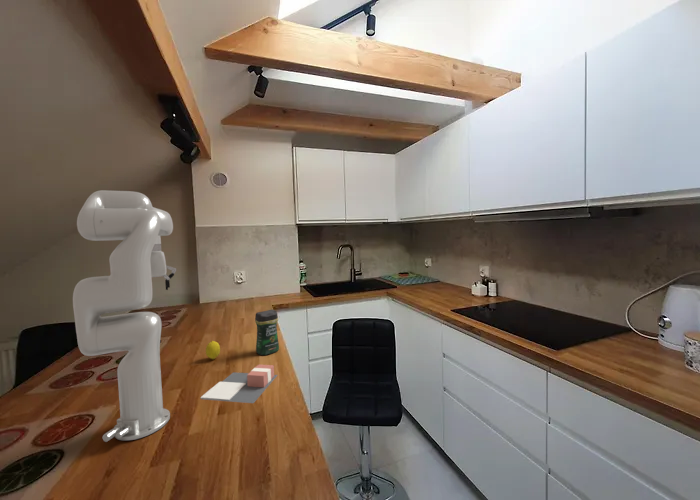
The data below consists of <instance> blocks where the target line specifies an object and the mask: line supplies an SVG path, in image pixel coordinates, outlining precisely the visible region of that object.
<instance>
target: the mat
mask: <svg viewBox="0 0 700 500" xmlns="http://www.w3.org/2000/svg"><path fill="white" fill-rule="evenodd" d="M249 373H250V372H236V371H235V372H232V373H230V374H229V375H228V376H227V377H226V378H225V379H223V380H222V381H221V382H235V383H246V384H245V385H244V386H243V387H242V388H241V389H240V390H239V391H238V392H237V393H236V394H235V395H234V396H233V397H232V398H231V399H230V400H217V399H204V398H201V400H205V401H207V400H208V401H218V402H219V401H220V402H232V403H244V404H245V403H246V404H254V403H255V402H256V401H257V400H258V399H259V398H260V397H261V395H262V394H263V393H264V392H265V391H266V389H268V387H269V386H271V384H272V383H273V381H274V380H275V379H276V378H277V376H278V374H274V377H273V378H272V379H271V381H270V382H269V383H268V384H267V385H266V386H265V387H249V386H248V383H247V375H248V374H249Z"/></svg>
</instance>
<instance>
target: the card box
mask: <svg viewBox="0 0 700 500" xmlns="http://www.w3.org/2000/svg"><path fill="white" fill-rule="evenodd" d="M248 373H249V374H248V375H247V383H248V386H249V387H265V386H266V385H267V384H268V383H269V382H270V381H271V379H272V378H273V377H274V375H275V364H273V365H272V364H257V365H256V366H255V367H254V368H253V369H251V370H250V372H248Z"/></svg>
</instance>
